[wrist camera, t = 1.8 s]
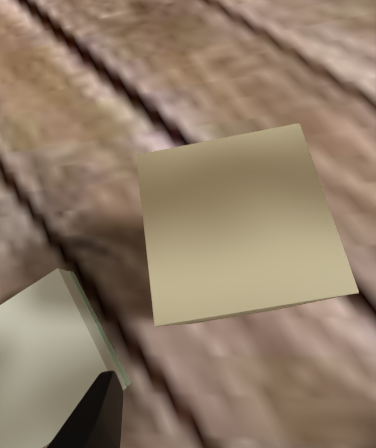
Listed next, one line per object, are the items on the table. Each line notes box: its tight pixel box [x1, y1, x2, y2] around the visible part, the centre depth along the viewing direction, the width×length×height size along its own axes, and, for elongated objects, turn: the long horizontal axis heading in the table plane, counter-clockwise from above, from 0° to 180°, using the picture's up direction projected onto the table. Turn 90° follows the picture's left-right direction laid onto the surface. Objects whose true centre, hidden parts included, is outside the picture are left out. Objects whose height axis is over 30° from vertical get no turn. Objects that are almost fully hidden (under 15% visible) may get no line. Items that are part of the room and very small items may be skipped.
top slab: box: [0, 268, 127, 448], centre depth 18 cm, size 9×9×2 cm
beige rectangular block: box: [136, 123, 359, 326], centre depth 15 cm, size 6×6×12 cm
